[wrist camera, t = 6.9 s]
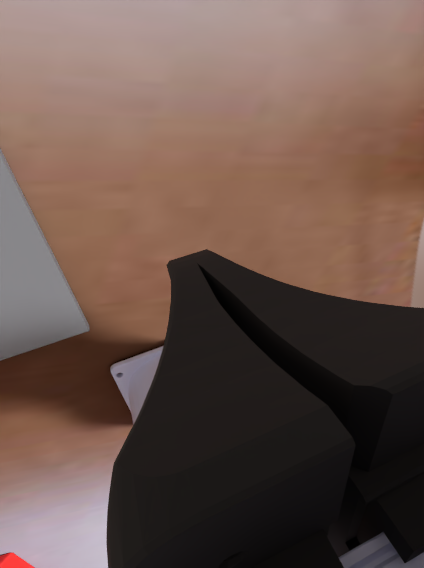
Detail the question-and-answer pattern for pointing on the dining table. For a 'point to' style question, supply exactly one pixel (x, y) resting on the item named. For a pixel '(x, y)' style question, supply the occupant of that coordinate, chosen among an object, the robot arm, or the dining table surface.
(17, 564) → the vase
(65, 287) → the mat
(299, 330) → the robot arm
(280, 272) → the dining table surface
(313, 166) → the dining table surface
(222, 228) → the dining table surface
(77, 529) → the dining table surface
